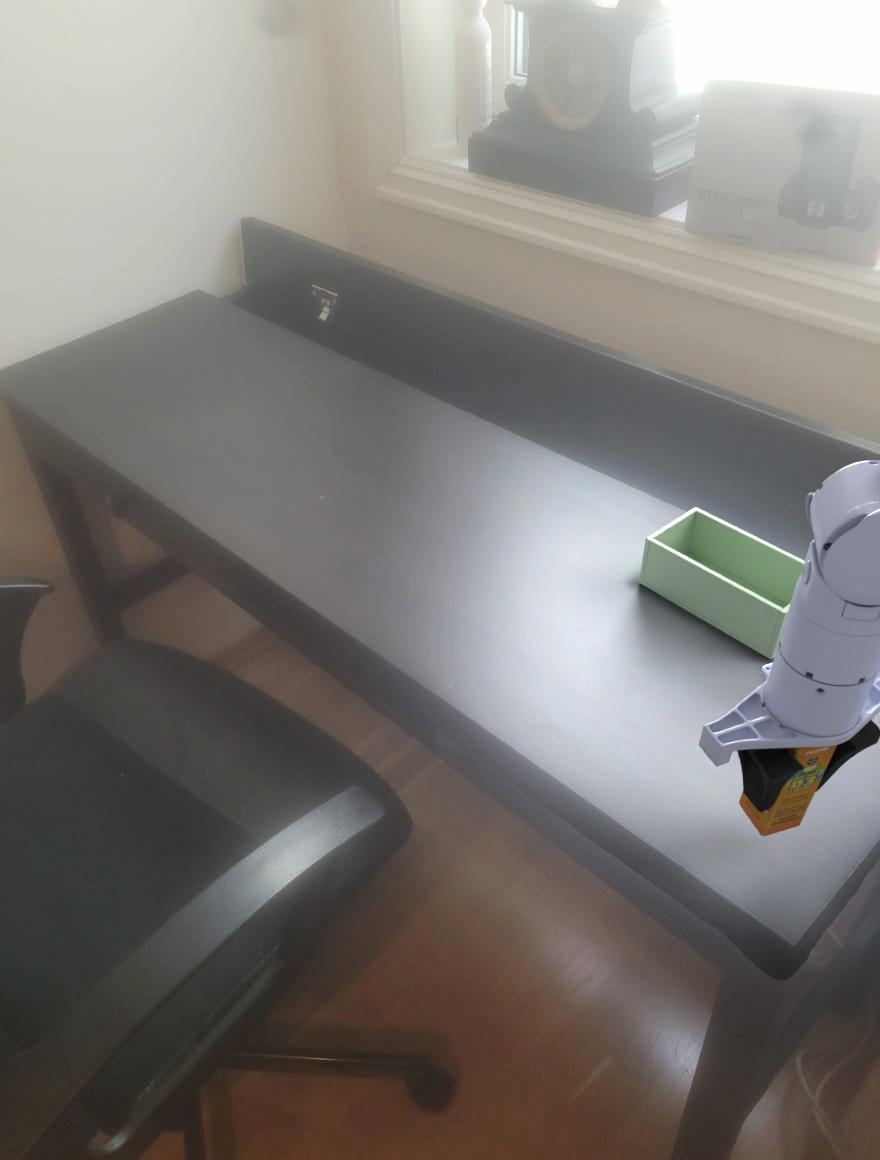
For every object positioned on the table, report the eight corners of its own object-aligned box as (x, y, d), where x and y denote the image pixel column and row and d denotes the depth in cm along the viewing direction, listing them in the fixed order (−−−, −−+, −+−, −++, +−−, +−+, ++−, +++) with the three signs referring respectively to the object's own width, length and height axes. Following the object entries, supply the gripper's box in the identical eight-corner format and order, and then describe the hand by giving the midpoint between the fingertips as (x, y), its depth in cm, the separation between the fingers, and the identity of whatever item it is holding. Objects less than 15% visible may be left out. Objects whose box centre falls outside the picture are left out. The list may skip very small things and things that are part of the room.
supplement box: (762, 841, 64) (795, 750, 57) (736, 804, 66) (765, 712, 59) (804, 829, 64) (841, 738, 57) (777, 792, 66) (809, 700, 60)
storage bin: (819, 621, 83) (834, 575, 79) (771, 660, 80) (785, 613, 76) (686, 551, 92) (695, 506, 88) (638, 582, 89) (645, 538, 85)
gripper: (881, 582, 58) (828, 722, 67) (686, 644, 55) (658, 781, 64) (966, 651, 53) (896, 792, 62) (756, 722, 50) (715, 859, 59)
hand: (779, 791), depth 63 cm, fingers closed on supplement box, 3 cm apart
